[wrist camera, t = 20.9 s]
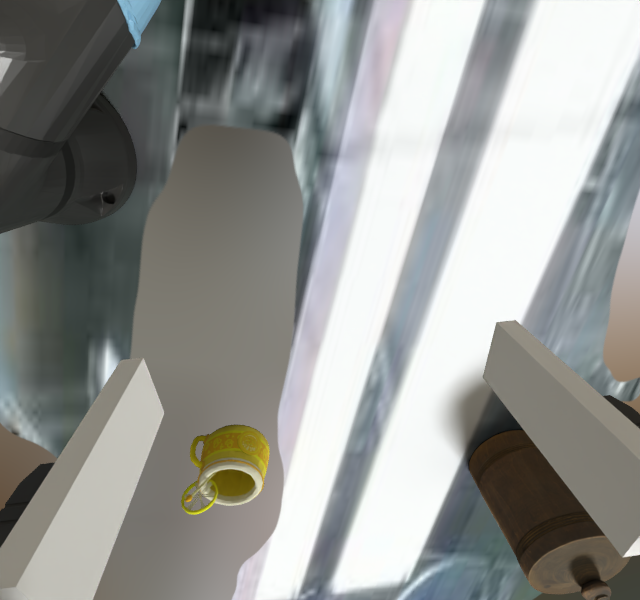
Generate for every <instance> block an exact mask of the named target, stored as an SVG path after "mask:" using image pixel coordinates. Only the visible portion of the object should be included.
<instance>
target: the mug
mask: <svg viewBox="0 0 640 600" xmlns="http://www.w3.org/2000/svg"><path fill="white" fill-rule="evenodd" d="M199 441H204V442H203V443H204V446H203V451H202V455H201V461H199V460H198V459H197V457H196V454H195V450H196V446H197V444H198V442H199ZM190 457H191V461H192V462H193V463H194V464H195V465H196V466H197V467H199V468H200V474H199V477H198V481H196V482H194V483H193V484H191V485H190V486H189V487H188V488H187V489H186V490H185V492H184V494H183V496H182V500H181V503H182V508H183V509H184V510H185V512H186V513H188V514H200V513H201V512H204V511H205V510H207V509H209V508H210V507H211V506H212V505H213V503H214V502H215V503H217V504H222V505H240V504H243V503H246V502H249V501H250V500H252V499H253V498H255V497H256V496H257V495H258V494H259V493H260V492H261V491H262V489H263V487H264V477H265V474H266V470H267V466H268V461H269V445H268V442H267V440H266V439H265V437H264V436H263V434H261V433H260V432H259V431H258V430H256V429H254V428H251V427H249V426H245V425H229V426H225V427H222V428H220V429H218V430H216V431H215V432H213V433H212V434H210V435H209V434H208V435H207V436H203V435H201V436H197V437H196V438H195V439H194V440H193V443H192V445H191V450H190ZM194 486H196V488H197V489H196V490H195V491H194V492H193V493H192V494H191V495H189V494H187V493H188V491H189V490H190V489H191V488H193V487H194ZM199 489H200V491H201V493H202V495H204V497H206V498H207V499H209V500H211V502H210V503H209V504H208V505H207V506H204V504H203V502H202V499H201V497H202V495H201V494H200V492H199ZM197 491H198V493H199V494H198V496H199V498H200V501H201V509H200V510H195V511H191V508H192V507H193V506H194V504H195V503H196V502H197V501H196V502H195V500H196V499H195V500H194V501H193V502H192V503H191V504H190V505H189V506H188V507H185V506H184V500H185V501H186V502H190V501H191V500H192V498H196V497H193V496H195V494H196V493H197ZM200 495H201V496H200ZM197 498H198V497H197ZM194 502H195V503H194ZM193 503H194V504H193ZM192 504H193V505H192ZM191 505H192V506H191Z"/></svg>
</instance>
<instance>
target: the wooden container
mask: <svg viewBox="0 0 640 600" xmlns="http://www.w3.org/2000/svg"><path fill="white" fill-rule="evenodd" d="M469 470H470V473H471V475H472V477H473V479H474V481H475V483H476V485H477V486H478V488H479V490H480V492H481V494H482V496H483V498H484V500H485V502H486V504H487V505H488V507H489V509H490V511H491V513H492V514H493V516H494V518H495V520H496V521H497V523H498V525H499V527H500V528H501V530H502V532H503V534H504V536H505V537H506V539H507V541H508V543H509V544H510V546H511V548H512V550H513V552H514V553H515V555H516V557H517V560H518V562H519V564H520V566H521V568H522V570H523V572H524V574H525V576H526V578H527V579H528V581H529V583H530V584H531V586H533V588H535V589H536V590H538V591H540V592H543V593H548V594H566V593H573V592H578V591H581V593H582V595H583V597H584V598H585V599H587V600H609V597H610V595H611V590H610V588H609V587H608V585H607V584H606V583H605V582H604V581H606V580H608V579H610V578H612V577H613V576H614V575H616V574H617V573H618V572H620V571H621V570H622V569H623V568H624V566H625V565H626V564H627V563H628V561H629V559H630V557H631V556H629V557H622V556H621V555H620V554H619V552H618V551H617V550H616V549H615V547H614V546H613V545H612V543H611V542H610V541H609V539H608V538H607V537H606V536H605V534H604V533H603V532H602V530H601V529H600V528H599V527H598V525H597V524H596V523H595V521H594V520H593V519H592V518H591V516H590V515H589V514H588V512H587V511H586V510H585V508H584V507H583V506H582V505H581V503H580V502H579V501H578V499H577V498H576V497H575V496H574V494H573V493H572V492H571V490H570V489H569V488H568V486H567V485H566V484H565V483H564V481H563V480H562V479H561V477H560V476H559V475H558V474H557V472H556V471H555V470H554V468H553V467H552V466H551V465H550V463H549V462H548V461H547V459H546V458H545V457H544V455H543V454H542V453H541V452H540V450H539V449H538V448H537V446H536V445H535V444H534V443H533V441H532V440H531V439H530V437H529V436H528V435H527V434H526V432H525V431H524V430H513V431H507V432H503V433H500V434H498V435H495V436H493V437H491V438H490V439H488V440H486V441H485V442H484V443H482V444H481V445H480V446H479V447H478V448H477V449H476V450H475V452H474V453H473V455H472V457H471V459H470V463H469Z"/></svg>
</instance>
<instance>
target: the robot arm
mask: <svg viewBox="0 0 640 600" xmlns="http://www.w3.org/2000/svg"><path fill="white" fill-rule="evenodd" d="M160 2H161V0H0V234H1V233H4V232H7V231H10V230H13V229H16V228H19V227H22V226H25V225H28V224H31V223H34V222H37V221H40V222H48V223H55V224H63V225H80V224H87V223H91V222H94V221H97V220H100V219H102V218H105V217H107V216H109V215H111V214H113V213H114V212H116V211H117V210H118V209H120V208H121V207H122V206H123V205H124V204H125V202H126V201H127V200H128V198H129V196H130V195H131V193H132V190H133V188H134V184H135V180H136V173H137V161H136V154H135V149H134V145H133V142H132V139H131V137H130V134H129V132H128V130H127V128H126V126H125V124H124V122H123V121H122V119H121V118H120V116H119V115H118V113H117V112H116V111H115V109H114V108H113V107H112V106H111V105H110V103H109V102H108V101H107V100H106V99H105V98H104V97H103V96H102V95H101V94H100V92H101V91H102V89H103V88H104V87H105V85H106V84H107V82H108V81H109V79H110V78H111V76H112V75H113V74H114V72H115V71H116V69H117V68H118V66H119V65H120V63H121V62H122V60H123V59H124V58H125V56H126V55H127V53H128V52H129V50H130V49H131V47H132V48H134V49H136V48H138V46H139V44H140V40H141V36H140V35H141V34H142V32H143V30H144V29H145V27H146V26H147V24H148V22H149V21H150V19H151V17H152V16H153V14H154V13H155V11H156V9H157V8H158V6H159V4H160ZM483 378H484V379H485V381H486V382H487V383H488V384H489V386H490V387H491V388H492V390H493V391H494V392H495V393H496V395H497V396H498V397H499V399H500V400H501V401H502V402H503V404H504V405H505V406H506V408H507V409H508V410H509V412H510V413H511V414H512V415H513V417H514V418H515V419H516V421H517V422H518V423H519V424H520V426H521V427H522V428H523V430H524V431H525V432H526V434H527V435H528V436H529V437H530V439H531V440H532V441H533V443H534V444H535V445H536V446H537V448H538V449H539V450H540V452H541V453H542V454H543V455H544V457H545V458H546V459H547V461H548V462H549V463H550V465H551V466H552V467H553V468H554V470H555V471H556V472H557V474H558V475H559V476H560V477H561V479H562V480H563V481H564V483H565V484H566V485H567V486H568V488H569V489H570V490H571V492H572V493H573V494H574V496H575V497H576V498H577V499H578V501H579V502H580V503H581V505H582V506H583V507H584V508H585V510H586V511H587V512H588V514H589V515H590V516H591V518H592V519H593V520H594V521H595V523H596V524H597V525H598V527H599V528H600V529H601V530H602V532H603V533H604V534H605V536H606V537H607V538H608V539H609V541H610V542H611V543H612V545H613V546H614V547H615V549H616V550H617V551H618V552H619V554H620V555H621V556H622V557H629V556H635V555H640V414H639V413H638V412H637V411H635V410H634V409H633V408H632V407H630V406H628V405H627V404H625V403H623V402H621V401H619V400H618V399H616V398H614V397H612V396H610V395H608V396H602V395H600V394H599V393H598V392H597V391H596V390H595V389H594V388H592V387H591V386H590V385H589V384H588V383H587V382H586V381H584V380H583V379H582V378H581V377H580V376H579V375H578V374H576V373H575V372H574V371H573V370H572V369H571V368H570V367H568V366H567V365H566V364H565V363H564V362H563V361H561V360H560V359H559V358H558V357H557V356H556V355H555V354H553V353H552V352H551V351H550V350H549V349H548V348H547V347H545V346H544V345H543V344H542V343H541V342H540V341H539V340H537V339H536V338H535V337H534V336H533V335H532V334H531V333H529V332H528V331H527V330H526V329H525V328H524V327H523V326H521V325H520V324H519V323H518V322H517V321H516V320H515V321H505V322H497V323H496V327H495V331H494V334H493V338H492V342H491V346H490V350H489V354H488V358H487V362H486V366H485V370H484V374H483ZM163 415H164V410H163V408H162V405H161V403H160V400H159V397H158V395H157V392H156V390H155V387H154V384H153V382H152V380H151V377H150V374H149V371H148V369H147V366H146V364H145V361H144V359H143V358H138V359H128V360H121V361H120V363H119V364H118V366H117V367H116V369H115V370H114V372H113V373H112V375H111V377H110V378H109V380H108V381H107V383H106V384H105V386H104V387H103V389H102V391H101V392H100V394H99V395H98V397H97V398H96V400H95V401H94V403H93V405H92V406H91V408H90V409H89V411H88V412H87V414H86V415H85V417H84V419H83V420H82V422H81V423H80V425H79V426H78V428H77V429H76V431H75V433H74V434H73V436H72V437H71V439H70V440H69V442H68V443H67V445H66V447H65V448H64V450H63V451H62V453H61V454H60V456H59V457H58V459H57V461H56V462H55V463H48V464H40V465H39V466H38V467H37V468H36V469H35V470H34V471H33V472H32V473H31V474H29V475H28V476H27V477H26V478H25V479H24V480H23V481H22V482H21V483H20V484H19V485H18V487H17V488H16V490H15V491H14V493H13V494H12V495H11V497H10V498H9V500H8V501H7V502H6V504H5V508H4V509H2V510H1V511H0V600H93V598H94V595H95V592H96V590H97V587H98V585H99V582H100V579H101V576H102V574H103V572H104V569H105V566H106V564H107V561H108V558H109V556H110V553H111V551H112V548H113V545H114V543H115V540H116V537H117V535H118V532H119V530H120V527H121V525H122V522H123V519H124V517H125V514H126V512H127V509H128V506H129V504H130V501H131V499H132V496H133V493H134V491H135V488H136V486H137V483H138V480H139V478H140V475H141V473H142V470H143V467H144V465H145V462H146V459H147V457H148V454H149V452H150V449H151V446H152V444H153V441H154V438H155V436H156V434H157V431H158V428H159V426H160V423H161V421H162V418H163Z"/></svg>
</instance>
